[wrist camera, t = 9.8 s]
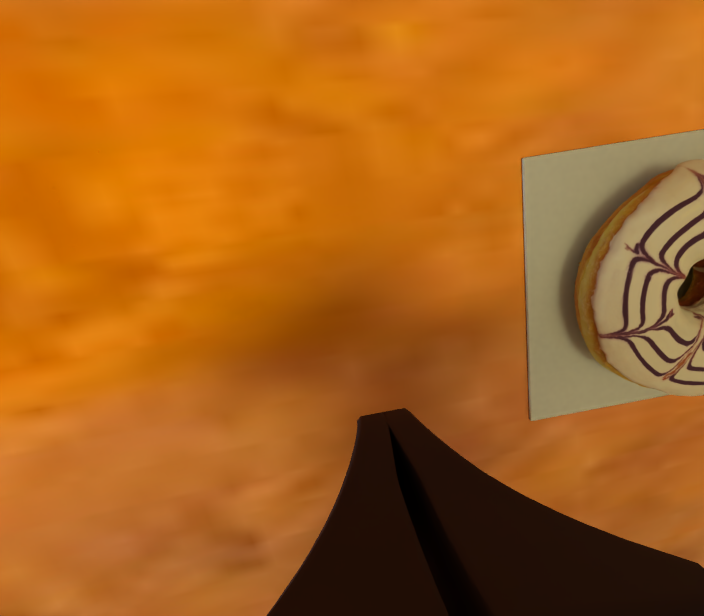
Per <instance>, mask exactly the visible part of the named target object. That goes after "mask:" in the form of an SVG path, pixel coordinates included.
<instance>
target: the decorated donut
mask: <svg viewBox="0 0 704 616" xmlns="http://www.w3.org/2000/svg"><path fill="white" fill-rule="evenodd" d="M579 264H580V265H579V266H578V273H577V277H576V281H575V291H574V292H575V293H574V299H575V300H574V302H575V304H574V305H575V309H576V317H577V322H578V325H579V329H580V332H581V334H582V336H583V338H584V341H585V343H586V345H587V347H588V350H589V351H590V353H591V355H592V356H593V357H594V359H595V360H596V361H597V362H598V363H599V364H600V365H602V366H603V367H604V368H606V369H607V370H609V371H611V372H613V373H615V374H617V375H618V376H620V377H622V378H623V379H625V380H628V381H630V382H633V383H636V384H638V385H639V386H642V387H646V388H653V389H656V390H659V391H662V392H665V393H667V394H671V395H677V396H702V395H704V160H703V159H696V160H689V161H685V162H682V163H679V164H678V165H677V166H676V167H675V169H672V170H669V171H666V172H664V173H661V174H658V175H657V176H655V177H654V178H652V179H651V180H650V181H649V182H648V183H647V184H645V185H644V186H643V187H642V188H640V189H639V190H638V191H637V192H636V193H634V194H633V195H632V196H631V197H630V198H628V199H627V200H626V201H625V202H623V204H621V205H620V206H619V207H618V208H617V209H616V210H615V211H614V212H613V213H612V215H611V216H610V217H609V218H608V219H607V220H606V221H605V223H604V224H603V225H602V226H601V227H600V229H599V230H598V232H597V233H596V234H595V236H593V238H592V239H591V240H590V242H589V244H588V245H587V247H586V249H585V252H584V254H583V257H582V260H581V262H579ZM691 267H693V270H694V272H693V278H692V283H691V284H690V287H689V289H688V290H687V292H686V293H685V294H684V295H683V296H682V297H681V298H680V299H679V300H678V296H677V292H678V289H679V287H680V286H681V285H682V283H683V282H684V280H685V278H686V277H687V275H688V272H689V270H690V268H691Z"/></svg>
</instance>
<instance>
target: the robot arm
mask: <svg viewBox="0 0 704 616" xmlns="http://www.w3.org/2000/svg"><path fill="white" fill-rule="evenodd" d="M267 616H704V568H703V567H702V566H700V565H699V564H698V563H695V562H692V561H689V560H686V559H683V558H680V557H677V556H674V555H671V554H668V553H665V552H662V551H659V550H656V549H653V548H650V547H647V546H644V545H641V544H637V543H634V542H631V541H628V540H625V539H623V538H620V537H617V536H615V535H612V534H610V533H607V532H605V531H602V530H600V529H597V528H595V527H592V526H589V525H587V524H584V523H582V522H580V521H577V520H575V519H573V518H570V517H568V516H566V515H563V514H561V513H559V512H557V511H555V510H553V509H551V508H549V507H547V506H544V505H542V504H540V503H538V502H536V501H534V500H532V499H530V498H528V497H526V496H524V495H522V494H520V493H519V492H517V491H515V490H513V489H511V488H510V487H508V486H506V485H504V484H503V483H501V482H499V481H498V480H496V479H494V478H493V477H491V476H489V475H488V474H486V473H484V472H483V471H481V470H480V469H478V468H477V467H476V466H474V465H473V464H471V463H470V462H469V461H467V460H466V459H464V458H463V457H462V456H460V455H459V454H458V453H456V452H455V451H454V450H453V449H451V448H450V447H449V446H448V445H446V444H445V443H444V442H443V441H441V440H440V439H439V438H438V437H437V436H435V435H434V434H433V433H432V432H431V431H430V430H429V429H427V428H426V427H425V426H424V425H423V424H422V423H421V422H420V421H419V420H418V419H417V418H416V417H415V416H414V415H413V414H412V413H411V412H410V411H408V410H407V409H405V408H402V409H397V410H392V411H386V412H381V413H376V414H370V415H365V416H361V417H360V418H359V419H358V420H357V435H356V441H355V446H354V450H353V453H352V457H351V461H350V464H349V468H348V471H347V473H346V476H345V479H344V482H343V484H342V487H341V490H340V492H339V495H338V497H337V500H336V502H335V504H334V506H333V509H332V511H331V513H330V515H329V517H328V519H327V521H326V523H325V525H324V527H323V529H322V531H321V533H320V534H319V536H318V538H317V540H316V542H315V543H314V545H313V547H312V549H311V551H310V552H309V554H308V556H307V557H306V559H305V561H304V562H303V564H302V565H301V567H300V568H299V570H298V571H297V573H296V574H295V576H294V577H293V579H292V580H291V582H290V583H289V585H288V586H287V588H286V589H285V590H284V592H283V593H282V595H281V596H280V598H279V599H278V601H277V602H276V604H275V605H274V606H273V608H272V609H271V610H270V612H269V613H268V614H267Z"/></svg>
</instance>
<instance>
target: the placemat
mask: <svg viewBox="0 0 704 616" xmlns="http://www.w3.org/2000/svg"><path fill="white" fill-rule="evenodd" d="M696 159H703V160H704V129H702V130H696V131H689V132H683V133H677V134H671V135H664V136H658V137H652V138H646V139H639V140H633V141H627V142H620V143H614V144H608V145H602V146H595V147H589V148H583V149H576V150H570V151H564V152H558V153H551V154H545V155H539V156H533V157H526V158H522V180H523V215H524V249H525V284H526V318H527V353H528V387H529V419H530V420H531V421H534V420H540V419H545V418H550V417H555V416H561V415H566V414H571V413H576V412H582V411H587V410H592V409H597V408H602V407H608V406H613V405H618V404H623V403H629V402H634V401H639V400H644V399H650V398H655V397H660V396H665V395H671V394H667V393H665V392H662V391H659V390H656V389H653V388H646V387H642V386H639V385H638V384H636V383H633V382H630V381H628V380H625V379H623V378H622V377H620V376H618V375H617V374H615V373H613V372H611V371H609V370H607V369H606V368H604V367H603V366H602V365H600V364H599V363H598V362H597V361H596V360H595V359H594V357H593V356H592V355H591V353H590V351H589V350H588V347H587V345H586V343H585V341H584V338H583V336H582V334H581V332H580V329H579V325H578V322H577V317H576V309H575V305H574V304H575V302H574V300H575V299H574V293H575V292H574V291H575V281H576V277H577V273H578V266H579V265H580V264H579V262H581V260H582V257H583V254H584V252H585V249H586V247H587V245H588V244H589V242H590V240H591V239H592V238H593V236H595V234H596V233H597V232H598V230H599V229H600V227H601V226H602V225H603V224H604V223H605V221H606V220H607V219H608V218H609V217H610V216H611V215H612V213H613V212H614V211H615V210H616V209H617V208H618V207H619V206H620V205H621V204H623V202H625V201H626V200H627V199H628V198H630V197H631V196H632V195H633V194H634V193H636V192H637V191H638V190H639V189H640V188H642V187H643V186H644V185H645V184H647V183H648V182H649V181H650V180H651V179H652V178H654V177H655V176H657V175H658V174H661V173H664V172H666V171H669V170H672V169H675V167H676V166H677V165H678V164H679V163H682V162H685V161H689V160H696ZM693 272H694V270H693V267H691V268H690V270H689V272H688V275H687V277H686V278H685V280H684V282H683V283H682V285H681V286H680V287H679V289H678V292H677V296H678V300H679V299H680V298H681V297H682V296H683V295H684V294H685V293H686V292H687V290H688V289H689V287H690V284H691V283H692V278H693Z"/></svg>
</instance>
